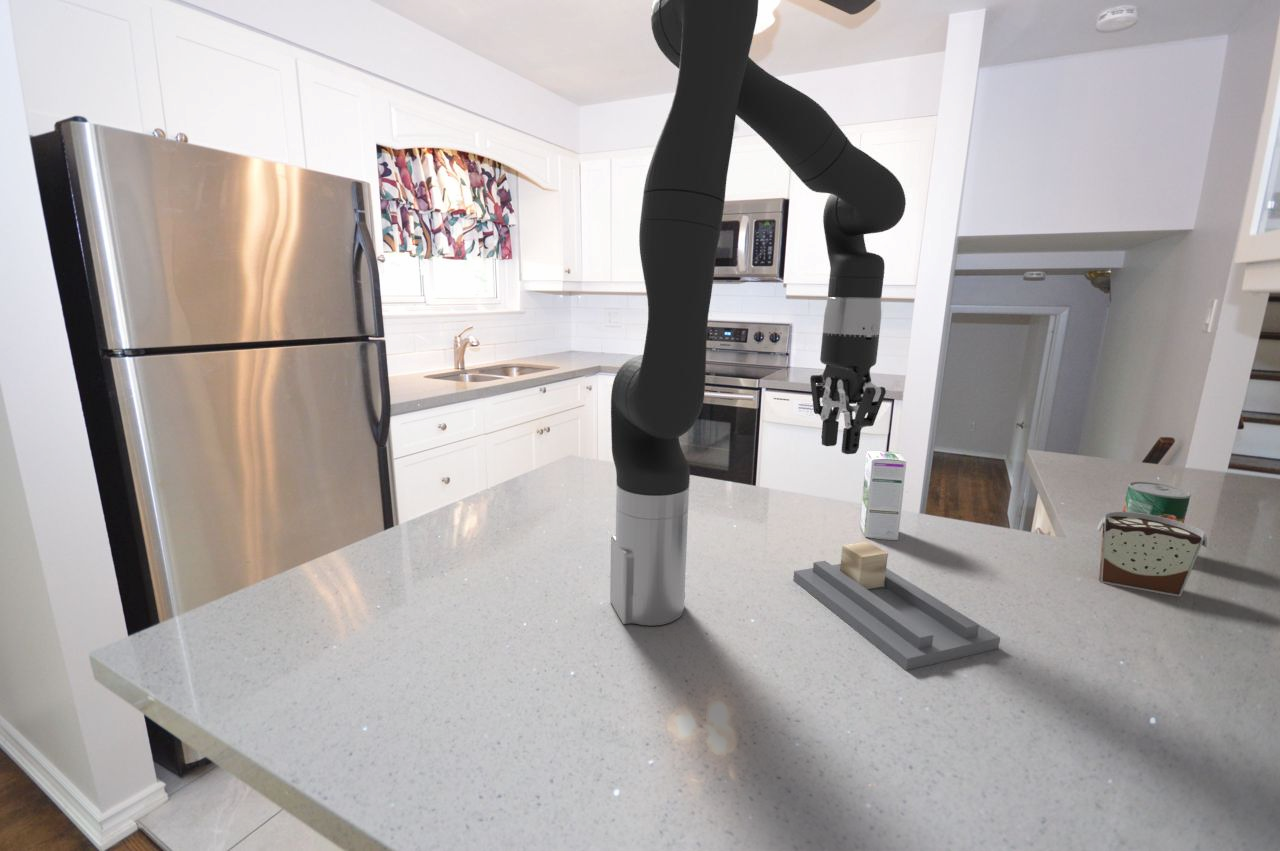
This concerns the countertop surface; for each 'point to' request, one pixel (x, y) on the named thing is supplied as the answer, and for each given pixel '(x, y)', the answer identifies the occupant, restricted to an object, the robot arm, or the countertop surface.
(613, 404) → the robot arm
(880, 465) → the syrup box
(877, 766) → the countertop surface
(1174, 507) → the canned tomato
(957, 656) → the grey rail board
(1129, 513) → the food container
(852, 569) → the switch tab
